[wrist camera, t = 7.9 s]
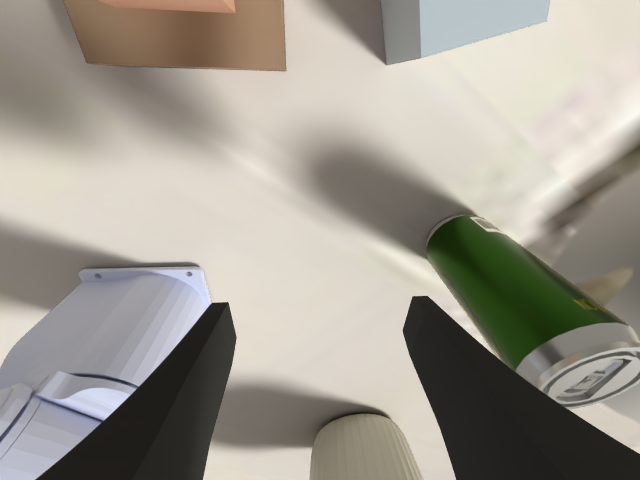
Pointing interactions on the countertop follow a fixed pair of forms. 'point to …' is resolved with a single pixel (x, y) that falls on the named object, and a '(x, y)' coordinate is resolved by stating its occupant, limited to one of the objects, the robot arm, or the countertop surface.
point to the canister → (362, 451)
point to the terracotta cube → (177, 5)
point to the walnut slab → (182, 36)
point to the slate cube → (451, 24)
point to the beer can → (534, 314)
